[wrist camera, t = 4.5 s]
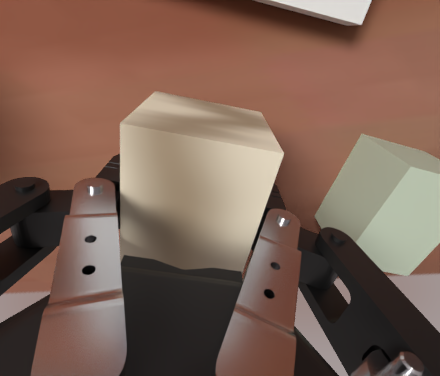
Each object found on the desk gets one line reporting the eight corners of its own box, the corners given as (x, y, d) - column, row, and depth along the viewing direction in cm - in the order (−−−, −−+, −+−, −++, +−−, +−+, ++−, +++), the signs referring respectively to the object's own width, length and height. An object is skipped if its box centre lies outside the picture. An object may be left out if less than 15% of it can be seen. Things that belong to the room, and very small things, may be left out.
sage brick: (424, 151, 18) (491, 188, 14) (368, 227, 21) (407, 276, 17) (360, 133, 17) (410, 166, 13) (313, 215, 20) (340, 263, 16)
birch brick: (260, 112, 12) (284, 153, 8) (229, 225, 16) (234, 295, 11) (155, 91, 12) (119, 123, 7) (147, 212, 15) (120, 282, 11)
